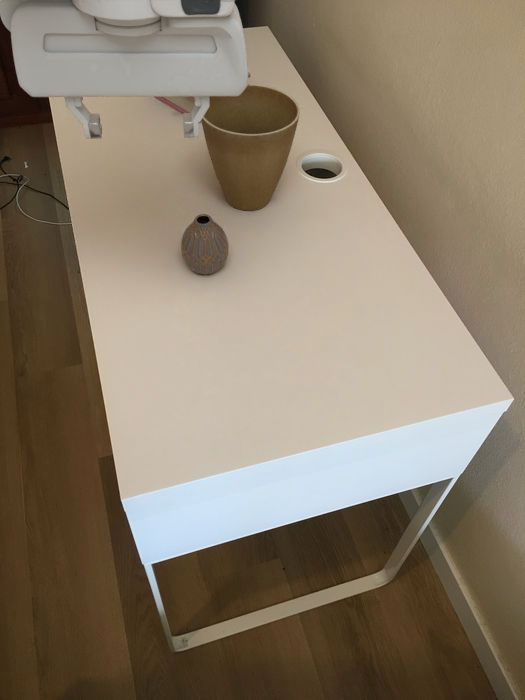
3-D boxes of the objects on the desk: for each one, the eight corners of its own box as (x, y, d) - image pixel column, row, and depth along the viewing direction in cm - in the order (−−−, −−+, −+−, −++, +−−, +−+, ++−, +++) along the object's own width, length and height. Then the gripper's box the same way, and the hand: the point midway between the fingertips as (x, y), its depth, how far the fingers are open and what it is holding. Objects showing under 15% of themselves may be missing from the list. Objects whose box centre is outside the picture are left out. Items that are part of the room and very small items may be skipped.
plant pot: (308, 208, 96) (319, 119, 84) (230, 236, 91) (229, 145, 78) (263, 162, 104) (267, 74, 91) (189, 185, 99) (182, 95, 86)
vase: (232, 278, 85) (231, 232, 78) (186, 284, 84) (181, 238, 77) (224, 247, 89) (223, 201, 82) (180, 252, 88) (175, 206, 81)
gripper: (-20, -12, 43) (29, 154, 53) (253, -7, 45) (247, 151, 56) (-5, -41, 47) (38, 119, 57) (246, -36, 49) (242, 117, 60)
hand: (143, 135), depth 56 cm, fingers open, 8 cm apart
